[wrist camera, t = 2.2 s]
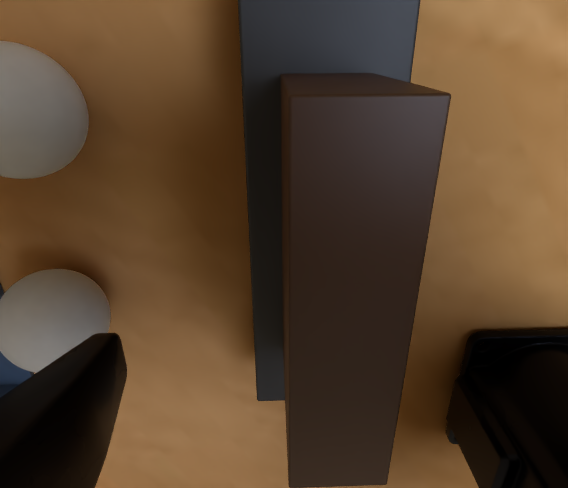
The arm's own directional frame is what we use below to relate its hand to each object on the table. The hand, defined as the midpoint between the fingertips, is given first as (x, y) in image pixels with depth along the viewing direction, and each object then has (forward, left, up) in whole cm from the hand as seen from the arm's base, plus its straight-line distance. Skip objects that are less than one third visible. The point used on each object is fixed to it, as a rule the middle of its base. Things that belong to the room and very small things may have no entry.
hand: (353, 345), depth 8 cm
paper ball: (+9, +3, -6) cm, 11 cm away
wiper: (0, 0, -8) cm, 8 cm away
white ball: (+9, -4, -6) cm, 11 cm away
